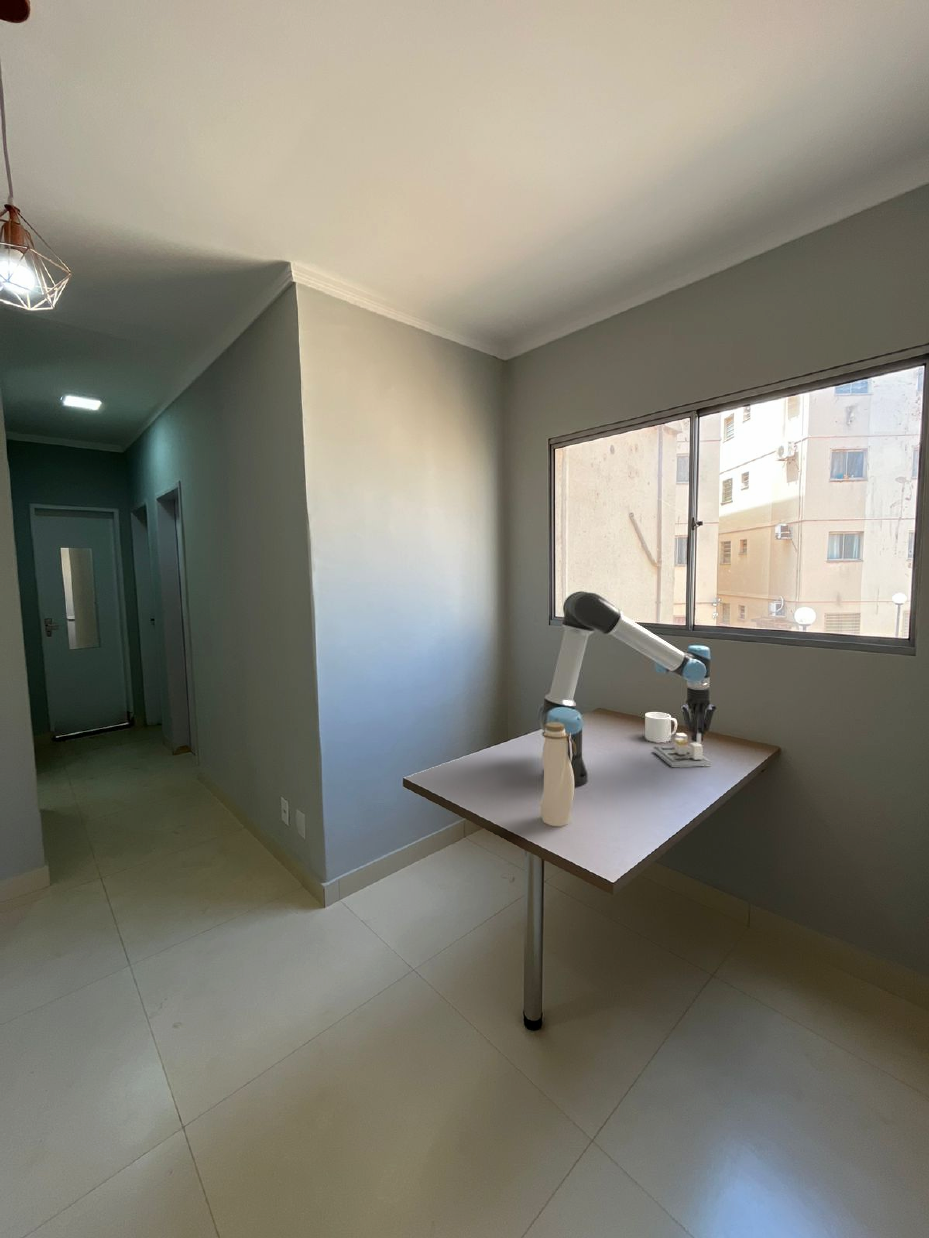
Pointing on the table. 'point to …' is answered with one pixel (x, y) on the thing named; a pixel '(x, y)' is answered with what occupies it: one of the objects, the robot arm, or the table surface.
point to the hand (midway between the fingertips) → (697, 749)
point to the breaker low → (696, 751)
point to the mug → (659, 726)
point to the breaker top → (682, 735)
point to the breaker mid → (680, 746)
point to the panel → (679, 757)
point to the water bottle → (557, 775)
